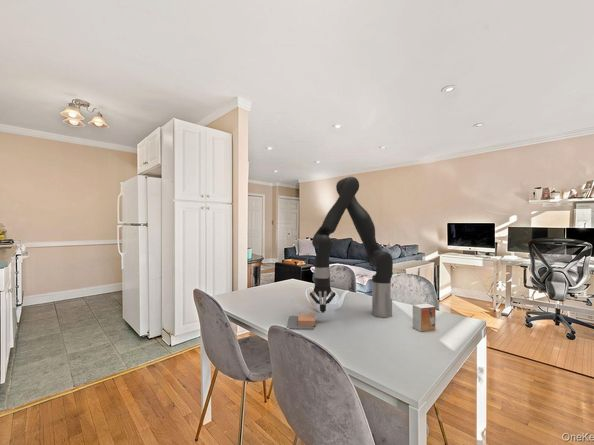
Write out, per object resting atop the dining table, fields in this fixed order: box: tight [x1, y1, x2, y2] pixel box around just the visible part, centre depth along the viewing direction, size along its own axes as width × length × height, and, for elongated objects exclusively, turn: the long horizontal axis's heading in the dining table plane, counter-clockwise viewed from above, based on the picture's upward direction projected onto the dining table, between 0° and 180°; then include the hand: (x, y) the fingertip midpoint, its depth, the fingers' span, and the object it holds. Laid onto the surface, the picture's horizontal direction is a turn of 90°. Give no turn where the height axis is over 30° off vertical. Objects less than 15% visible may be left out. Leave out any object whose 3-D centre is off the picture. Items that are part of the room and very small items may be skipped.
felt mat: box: [286, 315, 315, 330], centre depth 128 cm, size 12×16×1 cm
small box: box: [412, 303, 436, 333], centre depth 120 cm, size 8×6×10 cm
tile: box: [297, 312, 316, 327], centre depth 128 cm, size 2×10×8 cm
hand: (322, 312), depth 128 cm, fingers closed
